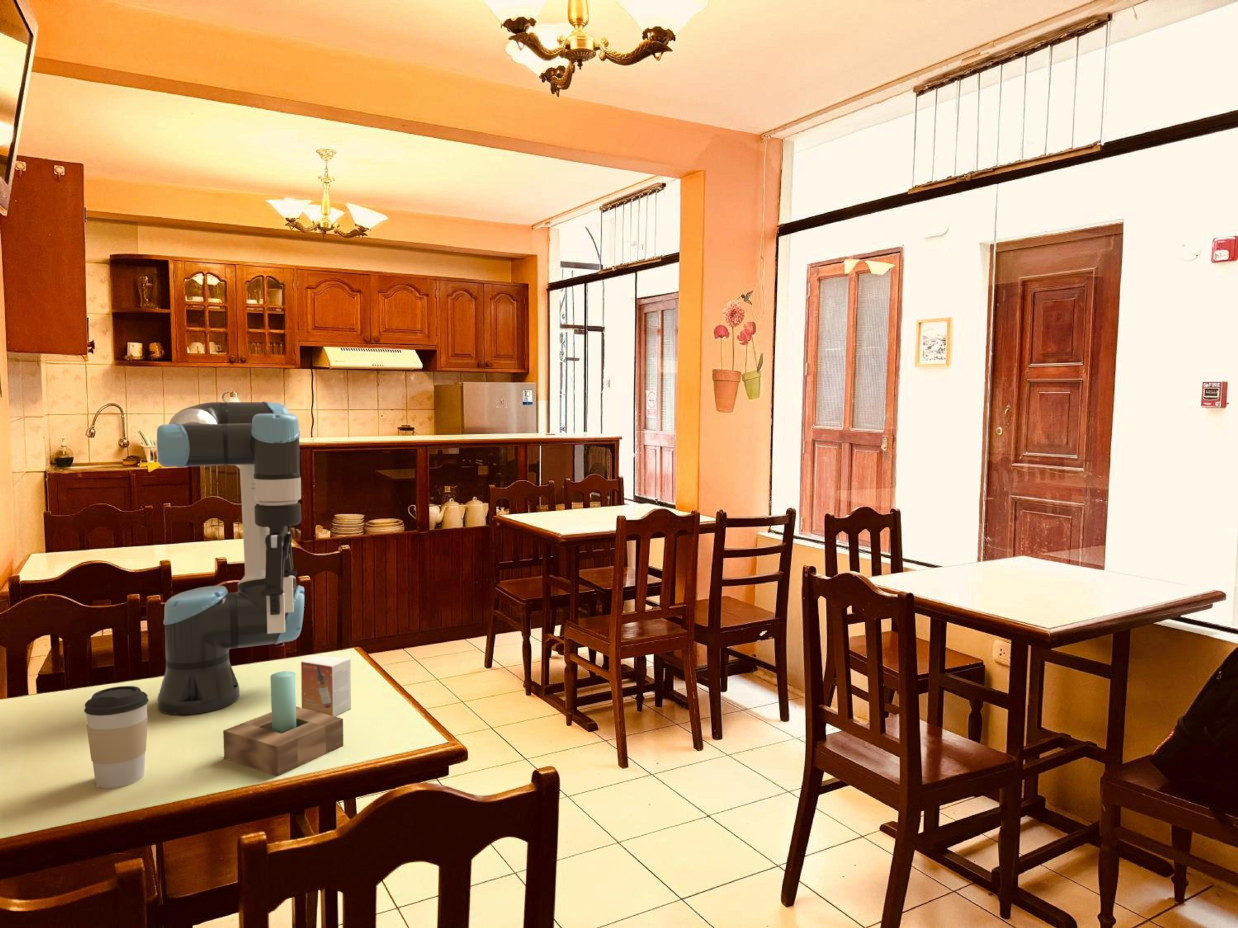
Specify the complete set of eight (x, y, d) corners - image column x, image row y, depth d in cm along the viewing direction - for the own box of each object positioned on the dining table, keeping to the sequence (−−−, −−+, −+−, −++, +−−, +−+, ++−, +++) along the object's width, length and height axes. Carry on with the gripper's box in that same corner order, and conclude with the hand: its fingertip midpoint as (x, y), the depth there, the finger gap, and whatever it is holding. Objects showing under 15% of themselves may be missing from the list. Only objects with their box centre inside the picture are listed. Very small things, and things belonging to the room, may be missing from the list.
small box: (301, 712, 165) (299, 661, 165) (320, 703, 171) (319, 653, 170) (332, 718, 162) (331, 666, 162) (352, 708, 168) (350, 658, 167)
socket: (224, 758, 144) (223, 730, 144) (290, 730, 156) (290, 704, 156) (278, 775, 137) (277, 746, 137) (343, 745, 150) (342, 718, 149)
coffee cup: (106, 767, 140) (102, 681, 139) (161, 765, 141) (158, 680, 140) (75, 792, 131) (71, 700, 130) (135, 790, 132) (131, 699, 131)
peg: (267, 753, 146) (265, 676, 145) (286, 745, 150) (284, 669, 149) (283, 758, 144) (280, 679, 143) (301, 749, 148) (299, 673, 147)
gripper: (264, 494, 154) (267, 605, 156) (242, 512, 131) (246, 643, 132) (307, 493, 157) (309, 603, 158) (293, 511, 133) (296, 640, 134)
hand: (281, 622), depth 145 cm, fingers open, 13 cm apart
